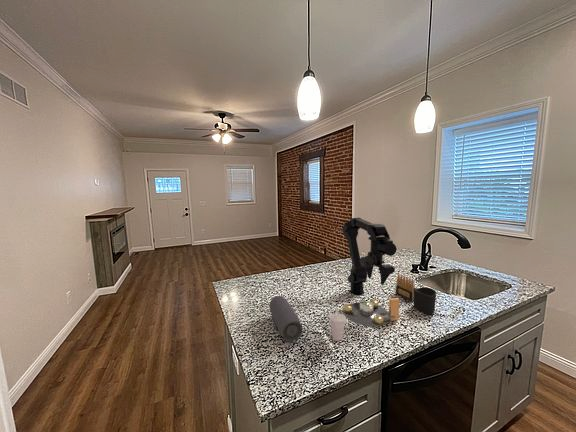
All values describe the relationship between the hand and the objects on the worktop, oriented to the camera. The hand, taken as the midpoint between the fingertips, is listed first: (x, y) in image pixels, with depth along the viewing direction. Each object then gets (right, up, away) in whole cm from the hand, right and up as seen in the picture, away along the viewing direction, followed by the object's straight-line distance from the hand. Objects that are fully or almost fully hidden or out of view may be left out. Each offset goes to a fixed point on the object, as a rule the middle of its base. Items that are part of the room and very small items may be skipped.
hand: (375, 281), depth 120 cm
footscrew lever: (-1, -13, -14) cm, 20 cm away
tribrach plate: (-7, -14, -7) cm, 17 cm away
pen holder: (+22, -13, -3) cm, 26 cm away
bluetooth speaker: (-44, -16, -16) cm, 50 cm away
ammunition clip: (+19, -12, +11) cm, 25 cm away
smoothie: (-24, -17, -24) cm, 38 cm away
